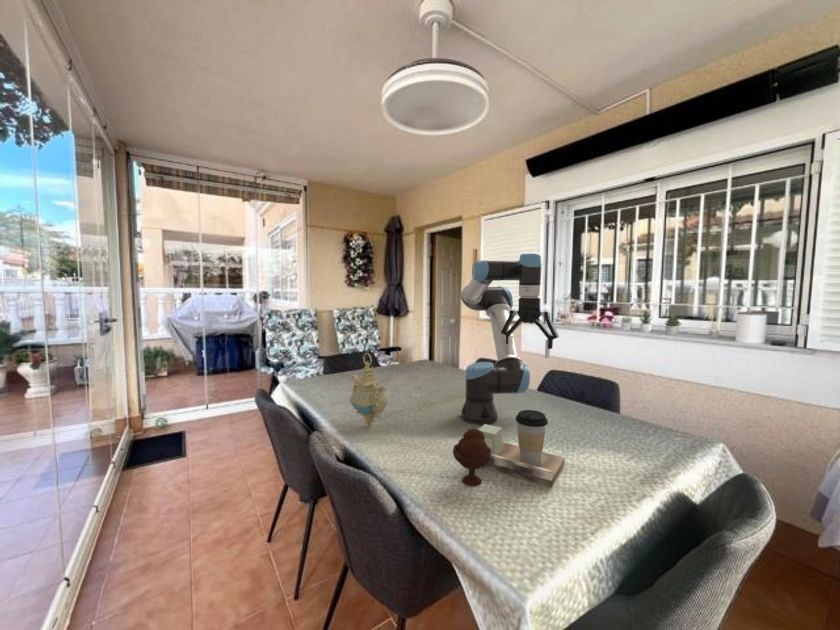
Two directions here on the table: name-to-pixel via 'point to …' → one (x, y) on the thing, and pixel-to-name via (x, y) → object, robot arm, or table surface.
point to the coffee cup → (531, 435)
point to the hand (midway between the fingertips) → (528, 355)
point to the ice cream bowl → (472, 454)
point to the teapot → (368, 395)
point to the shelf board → (526, 465)
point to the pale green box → (492, 438)
